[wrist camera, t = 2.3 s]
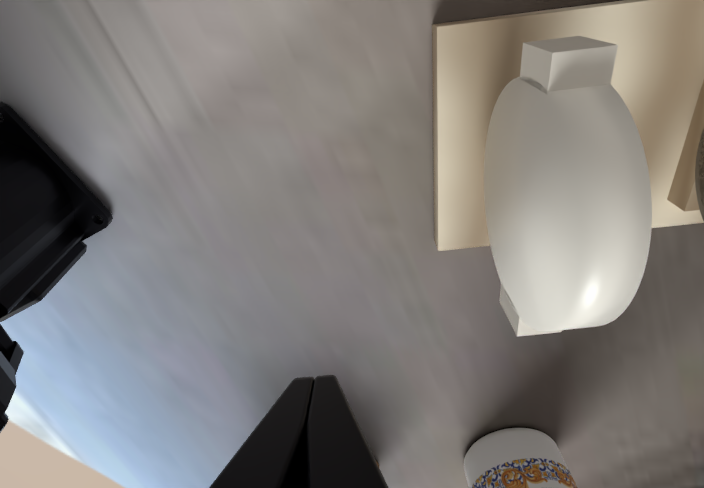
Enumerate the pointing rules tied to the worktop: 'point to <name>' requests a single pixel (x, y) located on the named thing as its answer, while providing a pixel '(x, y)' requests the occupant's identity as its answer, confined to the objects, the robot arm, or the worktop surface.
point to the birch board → (627, 79)
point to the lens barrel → (700, 175)
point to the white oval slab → (566, 190)
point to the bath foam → (516, 461)
